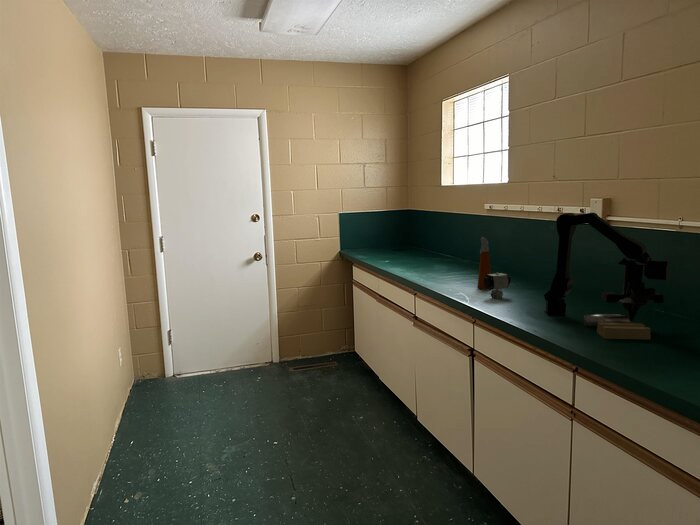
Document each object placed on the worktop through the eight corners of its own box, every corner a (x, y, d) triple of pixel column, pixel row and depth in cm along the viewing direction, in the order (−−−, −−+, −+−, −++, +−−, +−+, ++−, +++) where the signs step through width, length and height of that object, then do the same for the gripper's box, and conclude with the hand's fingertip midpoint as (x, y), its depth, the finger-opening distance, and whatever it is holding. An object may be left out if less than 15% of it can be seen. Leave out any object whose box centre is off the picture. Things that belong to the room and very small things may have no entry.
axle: (586, 327, 172) (587, 317, 170) (582, 322, 175) (584, 312, 174) (628, 328, 169) (630, 318, 168) (624, 323, 173) (625, 313, 172)
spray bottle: (472, 290, 237) (473, 237, 233) (479, 286, 246) (480, 235, 242) (486, 291, 233) (487, 237, 229) (493, 287, 242) (494, 235, 238)
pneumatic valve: (482, 298, 220) (483, 272, 218) (503, 295, 224) (504, 270, 222) (490, 300, 215) (490, 274, 213) (511, 298, 219) (512, 272, 217)
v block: (604, 338, 158) (604, 328, 158) (596, 332, 165) (597, 322, 164) (650, 339, 156) (651, 329, 155) (641, 333, 163) (641, 323, 162)
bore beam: (605, 329, 168) (606, 321, 167) (595, 321, 177) (596, 313, 177) (630, 330, 166) (630, 321, 166) (619, 322, 176) (619, 314, 176)
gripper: (613, 282, 162) (611, 326, 164) (673, 282, 159) (670, 327, 161) (601, 276, 173) (599, 318, 175) (658, 276, 170) (655, 318, 172)
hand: (630, 320), depth 171 cm, fingers closed
